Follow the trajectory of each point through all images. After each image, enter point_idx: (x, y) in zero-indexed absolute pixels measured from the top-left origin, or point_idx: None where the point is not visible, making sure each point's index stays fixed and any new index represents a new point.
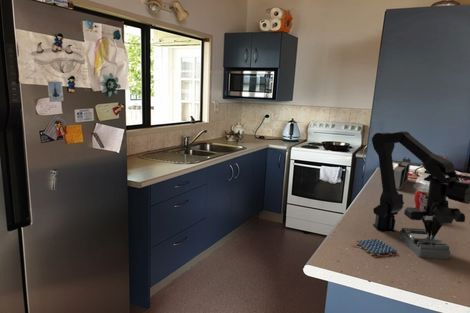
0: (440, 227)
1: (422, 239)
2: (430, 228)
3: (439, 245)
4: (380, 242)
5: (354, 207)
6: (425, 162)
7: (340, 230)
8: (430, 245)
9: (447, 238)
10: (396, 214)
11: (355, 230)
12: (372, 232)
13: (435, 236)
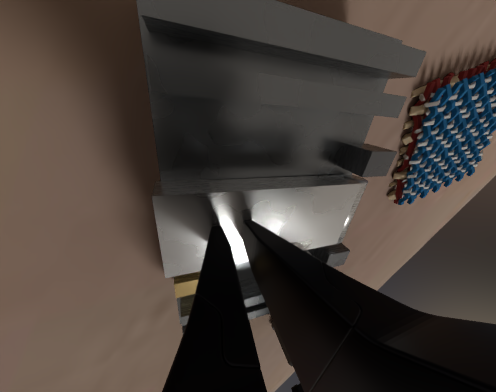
0: (186, 346)
1: (313, 183)
2: (319, 276)
3: (274, 17)
4: (401, 188)
5: (288, 375)
6: None
7: (413, 248)
8: (360, 34)
9: (30, 335)
10: (295, 387)
11: (381, 261)
12: (348, 265)
13: (183, 253)
